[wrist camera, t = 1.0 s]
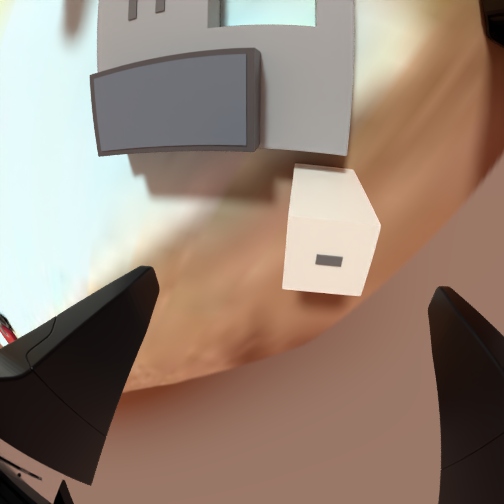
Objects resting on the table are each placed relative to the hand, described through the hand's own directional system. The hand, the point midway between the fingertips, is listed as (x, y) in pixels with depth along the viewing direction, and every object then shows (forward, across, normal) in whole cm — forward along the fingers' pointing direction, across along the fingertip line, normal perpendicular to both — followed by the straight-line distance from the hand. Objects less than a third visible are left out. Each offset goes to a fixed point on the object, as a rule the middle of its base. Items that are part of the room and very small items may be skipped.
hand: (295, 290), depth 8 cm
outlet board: (+12, +5, -10) cm, 17 cm away
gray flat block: (+10, +7, -5) cm, 13 cm away
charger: (+12, -1, +2) cm, 13 cm away
